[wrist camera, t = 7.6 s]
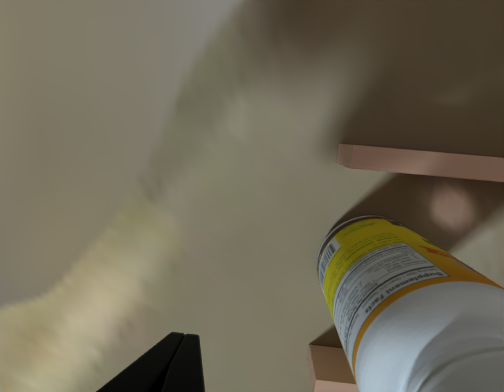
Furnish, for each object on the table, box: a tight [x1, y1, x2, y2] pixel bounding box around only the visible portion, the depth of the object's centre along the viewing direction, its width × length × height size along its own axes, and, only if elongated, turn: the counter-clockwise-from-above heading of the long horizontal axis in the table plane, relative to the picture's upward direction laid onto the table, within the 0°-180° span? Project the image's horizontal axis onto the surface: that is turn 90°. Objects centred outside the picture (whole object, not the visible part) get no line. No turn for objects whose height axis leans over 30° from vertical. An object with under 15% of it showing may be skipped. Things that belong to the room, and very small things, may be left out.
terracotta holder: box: [307, 143, 504, 392], centre depth 14 cm, size 13×12×2 cm
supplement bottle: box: [317, 215, 504, 392], centre depth 11 cm, size 6×6×10 cm
